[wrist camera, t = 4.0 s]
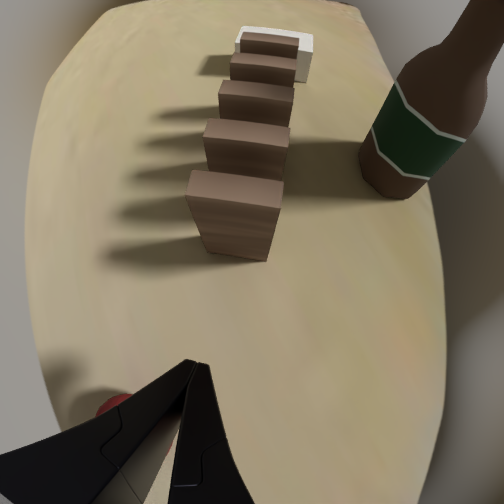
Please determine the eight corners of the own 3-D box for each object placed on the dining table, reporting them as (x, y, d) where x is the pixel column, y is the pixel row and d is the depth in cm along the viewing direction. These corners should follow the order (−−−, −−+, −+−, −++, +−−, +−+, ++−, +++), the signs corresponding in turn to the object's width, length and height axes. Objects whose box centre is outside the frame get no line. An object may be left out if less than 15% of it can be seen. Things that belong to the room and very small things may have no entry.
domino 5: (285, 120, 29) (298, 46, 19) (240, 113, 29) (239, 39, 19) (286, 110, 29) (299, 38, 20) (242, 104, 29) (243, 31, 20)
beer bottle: (393, 137, 29) (485, -27, 6) (429, 192, 27) (563, 39, 4) (342, 148, 28) (428, -62, 5) (379, 211, 26) (537, 9, 3)
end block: (306, 82, 31) (312, 52, 26) (235, 73, 31) (234, 42, 26) (307, 62, 32) (313, 34, 28) (242, 54, 33) (242, 25, 28)
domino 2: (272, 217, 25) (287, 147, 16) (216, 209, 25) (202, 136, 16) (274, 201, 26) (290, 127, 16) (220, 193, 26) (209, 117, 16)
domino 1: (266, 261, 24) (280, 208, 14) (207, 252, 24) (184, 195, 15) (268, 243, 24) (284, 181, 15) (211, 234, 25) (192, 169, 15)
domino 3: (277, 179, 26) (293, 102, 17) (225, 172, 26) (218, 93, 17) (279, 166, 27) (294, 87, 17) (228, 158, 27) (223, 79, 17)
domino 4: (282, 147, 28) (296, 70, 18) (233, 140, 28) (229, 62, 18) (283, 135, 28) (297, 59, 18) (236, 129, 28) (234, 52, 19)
